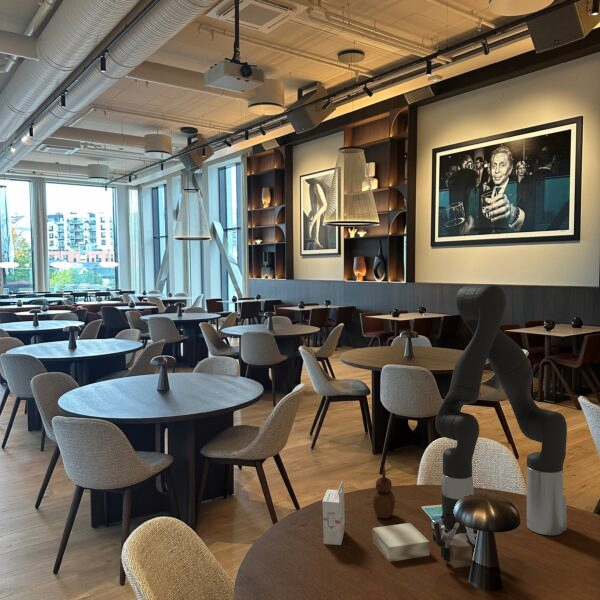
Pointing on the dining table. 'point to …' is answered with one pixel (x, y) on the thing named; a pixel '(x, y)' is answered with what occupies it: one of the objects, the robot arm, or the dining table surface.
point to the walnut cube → (460, 553)
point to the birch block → (400, 542)
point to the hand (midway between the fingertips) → (458, 558)
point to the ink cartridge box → (333, 516)
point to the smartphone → (433, 512)
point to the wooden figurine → (383, 497)
